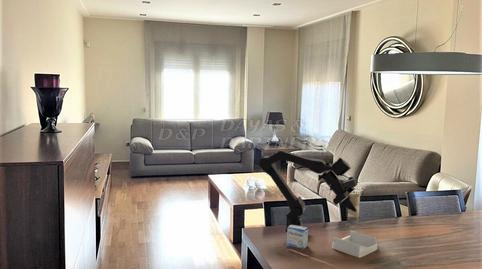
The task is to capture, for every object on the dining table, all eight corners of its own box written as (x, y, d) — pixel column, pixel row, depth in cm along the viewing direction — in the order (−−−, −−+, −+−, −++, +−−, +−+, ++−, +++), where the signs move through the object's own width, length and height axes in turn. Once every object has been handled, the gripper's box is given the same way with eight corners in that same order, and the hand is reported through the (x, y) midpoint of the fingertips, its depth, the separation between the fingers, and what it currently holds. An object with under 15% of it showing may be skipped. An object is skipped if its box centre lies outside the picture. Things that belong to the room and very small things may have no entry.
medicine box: (286, 246, 176) (287, 226, 175) (290, 243, 180) (290, 224, 179) (304, 250, 172) (304, 230, 171) (307, 246, 176) (308, 227, 175)
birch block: (347, 222, 185) (349, 194, 184) (349, 220, 189) (351, 192, 187) (356, 224, 183) (358, 195, 182) (358, 221, 187) (360, 193, 185)
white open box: (332, 249, 173) (332, 236, 173) (349, 242, 182) (350, 229, 181) (360, 259, 163) (360, 245, 163) (377, 250, 172) (377, 238, 172)
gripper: (341, 175, 177) (366, 204, 173) (351, 168, 194) (374, 194, 190) (322, 190, 182) (346, 219, 178) (334, 182, 198) (356, 208, 194)
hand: (356, 209), depth 185 cm, fingers closed on birch block, 4 cm apart
